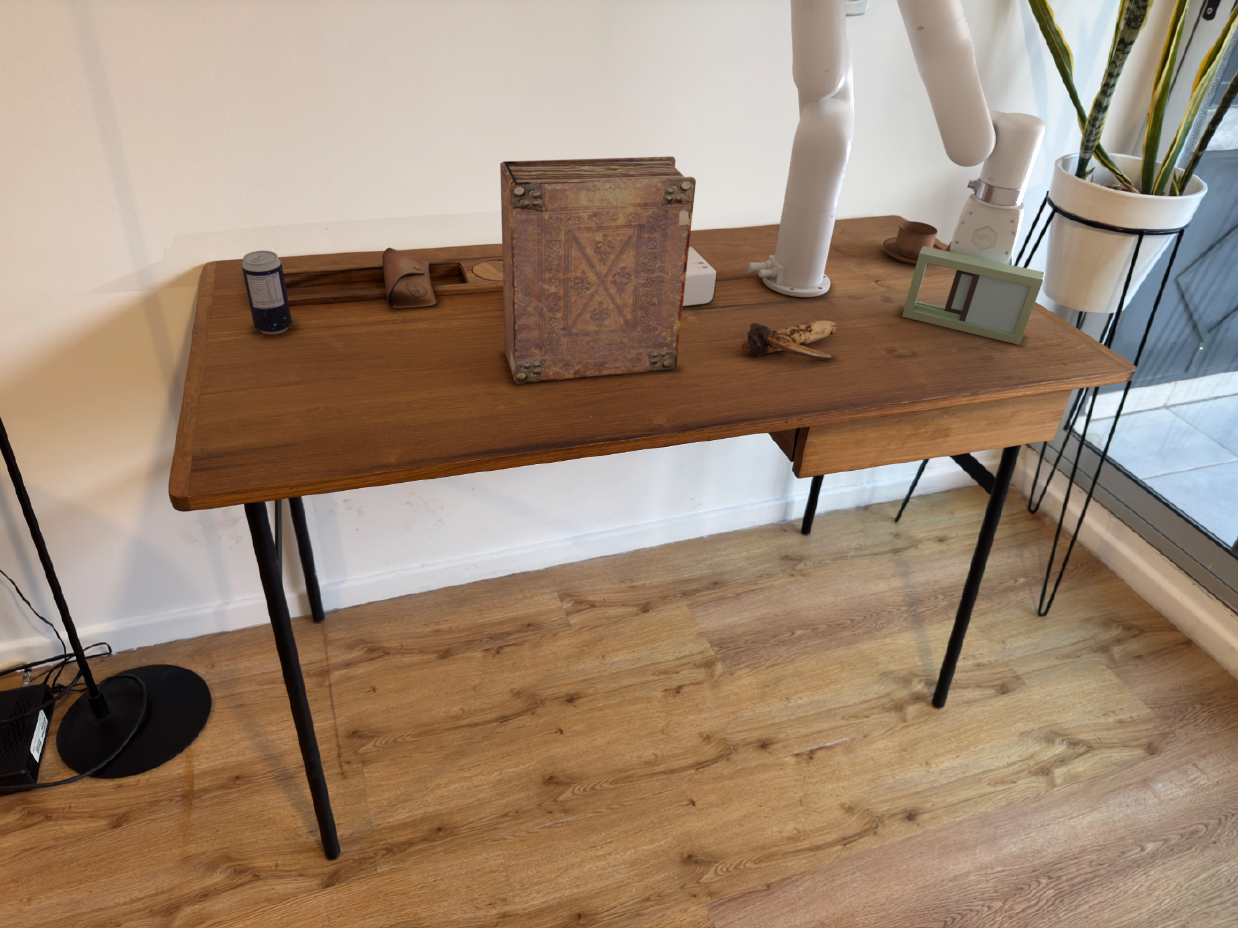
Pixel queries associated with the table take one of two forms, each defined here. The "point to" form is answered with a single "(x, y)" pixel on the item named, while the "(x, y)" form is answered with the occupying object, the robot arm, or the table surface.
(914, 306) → the window frame
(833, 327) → the bone fish hook
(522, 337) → the book
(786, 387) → the table surface
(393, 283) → the sunglasses case
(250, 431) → the table surface
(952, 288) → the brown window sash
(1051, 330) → the table surface
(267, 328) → the beverage can
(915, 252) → the cup and saucer
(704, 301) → the laminator
